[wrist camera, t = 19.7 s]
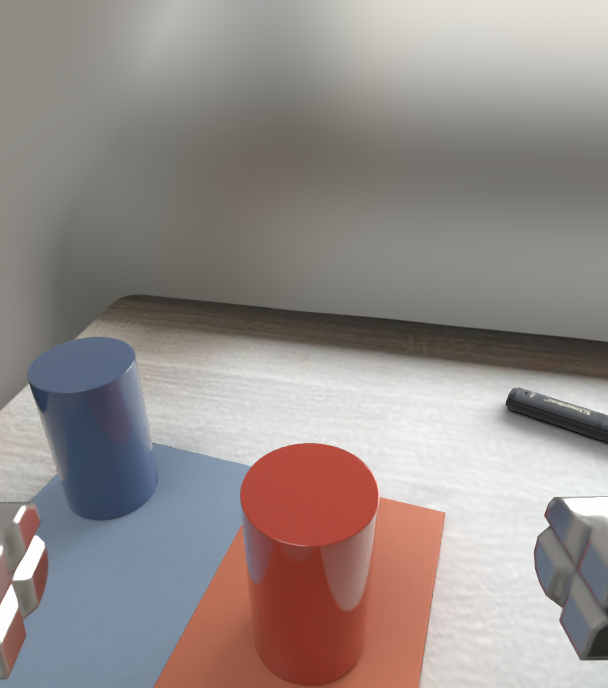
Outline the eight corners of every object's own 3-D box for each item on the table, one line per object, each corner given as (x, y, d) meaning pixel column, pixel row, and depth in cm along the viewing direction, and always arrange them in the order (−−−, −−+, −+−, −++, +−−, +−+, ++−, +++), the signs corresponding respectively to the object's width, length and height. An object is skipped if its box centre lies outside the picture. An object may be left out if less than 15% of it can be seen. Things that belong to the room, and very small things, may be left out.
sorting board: (-152, 692, 27) (-156, 688, 27) (101, 434, 43) (100, 430, 43) (380, 936, 20) (381, 932, 20) (444, 516, 36) (445, 512, 36)
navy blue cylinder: (46, 507, 36) (2, 381, 31) (102, 448, 41) (73, 330, 36) (125, 530, 35) (93, 401, 30) (174, 466, 40) (154, 345, 34)
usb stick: (637, 435, 43) (643, 419, 42) (633, 455, 41) (639, 439, 40) (511, 395, 47) (515, 380, 46) (502, 412, 45) (506, 396, 44)
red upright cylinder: (233, 663, 28) (215, 524, 22) (276, 565, 32) (270, 431, 27) (351, 704, 26) (361, 564, 21) (378, 594, 31) (392, 458, 26)
